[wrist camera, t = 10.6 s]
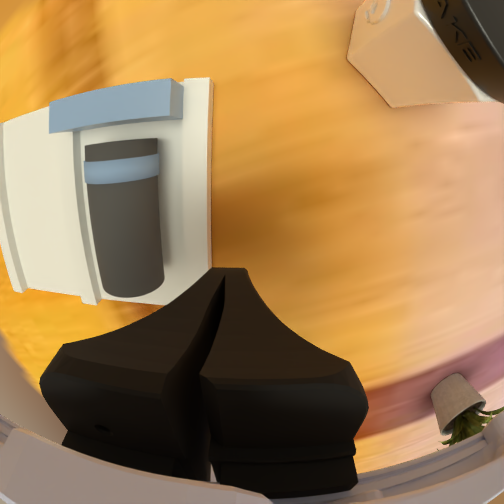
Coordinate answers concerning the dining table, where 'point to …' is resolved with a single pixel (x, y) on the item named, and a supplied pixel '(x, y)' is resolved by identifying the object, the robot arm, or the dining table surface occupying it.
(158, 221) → the banded tin can
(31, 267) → the cream cylinder cradle
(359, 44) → the jar
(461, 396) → the house plant
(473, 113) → the dining table surface
